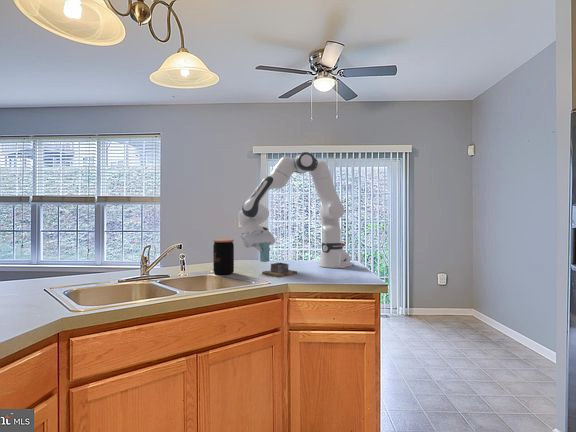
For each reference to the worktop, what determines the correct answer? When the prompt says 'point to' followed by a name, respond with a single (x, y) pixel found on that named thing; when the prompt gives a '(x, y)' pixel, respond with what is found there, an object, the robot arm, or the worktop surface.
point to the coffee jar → (223, 256)
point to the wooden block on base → (279, 270)
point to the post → (264, 252)
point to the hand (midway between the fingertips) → (265, 250)
